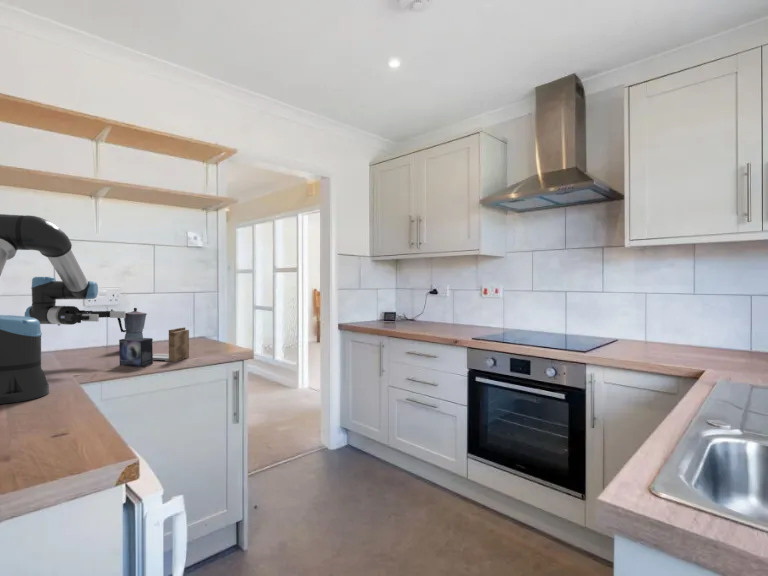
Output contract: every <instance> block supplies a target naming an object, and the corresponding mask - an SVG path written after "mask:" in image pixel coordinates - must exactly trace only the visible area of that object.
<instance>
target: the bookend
mask: <svg viewBox="0 0 768 576" xmlns="http://www.w3.org/2000/svg"><path fill="white" fill-rule="evenodd" d="M186 357H188V358H190V330H189V329H186V327H184V326H183V327H179V328H174V329H173V328H171V329H168V353H154V354H153V360H165V361H164V362H171V361H173V363H174V362H178V361H181V360H184V359H183V358H185V359H187V358H186ZM180 359H181V360H180ZM177 360H178V361H177Z"/></svg>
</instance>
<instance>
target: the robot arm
mask: <svg viewBox="0 0 768 576" xmlns="http://www.w3.org/2000/svg"><path fill="white" fill-rule="evenodd" d="M72 247H73V245H72V242H71V240H70V238H69V236H68V235H67V234H66V233H65V231H63V230H62V229H61V228H60V227H58V226H57V225H56V224H54V223H53V222H51V221H49V220H47V219H46V218H42V217H40V216H37V215H36V216H35V215H29V214H28V215H27V214H26V215H24V214H23V215H20V214H17V215H16V214H4V213H3V214H2V213H1V214H0V276H1V275H2V273H3V270H4V268H5V265H6V262H7V261H8V260H9V261H10V260H11V259H13V258H14V257H15V256H16V253H17V251H38V252H39V253H40V254H41V255H42V256H44V257H46V258H47V259H48V261H49V263H51V266H52V267H53V269H54V270H55V271H56V273H57V275H58V276H59V278H60V279H61V280H56V277H55V276H34V277H33V278H32V279H31V289H30V290H31V305H30V306H28V307H27V308H26V309H25V312H24V316H22V315H13V314H12V315H11V314H8V315H6V314H5V315H4V314H0V405H2V404H3V405H4V404H12V403H19V402H25V401H31V400H35V399H38V398H42V397H45V396H46V395H48V394H49V393H50V383H49V382H48V381H47V378H46V376H45V375H46V374H45V373H44V371H43V369H42V368H43V367H42V335H43V333H42V330H41V325H57V326H58V327H59V326H61V325H68V326H69V325H75V324H81V323H82V322H96V323H97V322H99V321H100V320H99V318H111V319H113V318H114V319H117V318H120V319H124V318H125V313H126V311H122V310H121V311H120V310H117V311H115V310H113V309H110V310H103V311H102V310H95V311H94V310H83V309H82V310H81V309H79V308H78V307H77V306H76V305H75V306H74V305H56V302H57V300H93V299H96V298H97V297H98V294H99V287H98V284H97V282H96V281H93V280H92V281H91V280H88V279H87V278H86V275H85V274H84V271H83V270H82V268H81V266H80V265H79V261H77V258H76V256H75V254H74V253H73V251H72Z"/></svg>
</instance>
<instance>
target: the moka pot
mask: <svg viewBox="0 0 768 576" xmlns="http://www.w3.org/2000/svg"><path fill="white" fill-rule="evenodd" d="M147 315H148V313H146V312H141V311H138V307H134V308H133V310H132V311H128V312H125V318H123V321H124V322H123V323H124V329H123V325H122V318H116V319H117V323H118V326H119V329H120V330H119V331H120V332H121V333H125V335H124V338H123V339H126V338H131V337H136V338H144V336H143V335H144V334H143V331H144V329H145V324H146V319H147V318H146V317H147Z"/></svg>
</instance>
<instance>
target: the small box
mask: <svg viewBox="0 0 768 576" xmlns="http://www.w3.org/2000/svg"><path fill="white" fill-rule="evenodd" d="M118 344H119V345H118V347H119V349H118V350H119V351H118V353H119V366H121V365H124V366H125V367H135V368H136V367H137V368H142V367H146V366H151V365H153V364H154V361H153V338H152V337H151V338H150V337H143V338H136V337H131V338H126V339H124V338H121V339H119V340H118Z"/></svg>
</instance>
